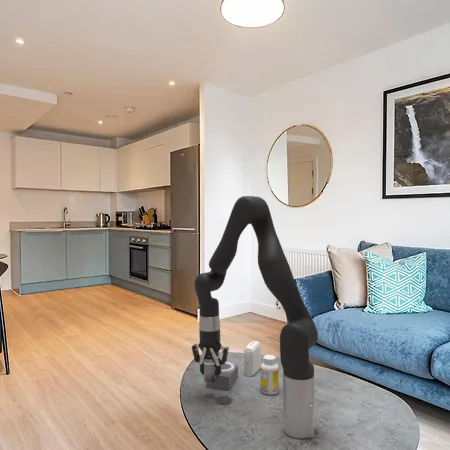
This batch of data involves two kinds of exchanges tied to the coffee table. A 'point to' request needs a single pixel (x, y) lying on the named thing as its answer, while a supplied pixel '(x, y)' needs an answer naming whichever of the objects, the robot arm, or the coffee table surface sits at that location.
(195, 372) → the coffee table surface
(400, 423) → the coffee table surface
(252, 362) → the photo printer
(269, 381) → the supplement bottle
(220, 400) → the lens cap
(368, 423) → the coffee table surface
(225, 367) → the camera body
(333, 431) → the coffee table surface
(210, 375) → the lens
